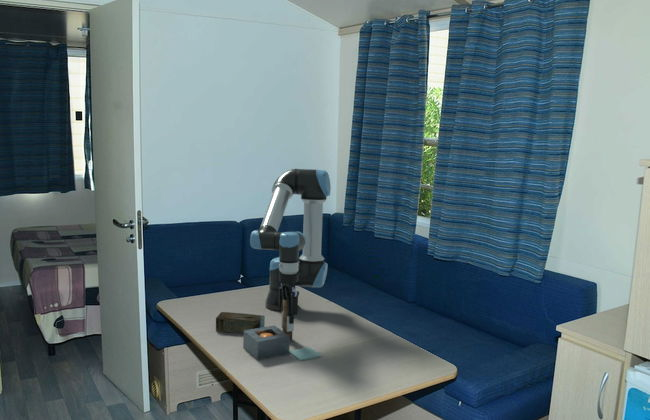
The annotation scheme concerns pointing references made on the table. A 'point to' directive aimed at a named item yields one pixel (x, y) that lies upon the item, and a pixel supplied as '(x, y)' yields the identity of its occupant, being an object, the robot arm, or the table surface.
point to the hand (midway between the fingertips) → (287, 328)
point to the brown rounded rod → (285, 313)
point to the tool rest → (304, 353)
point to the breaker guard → (266, 342)
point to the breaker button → (265, 335)
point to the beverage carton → (238, 322)
